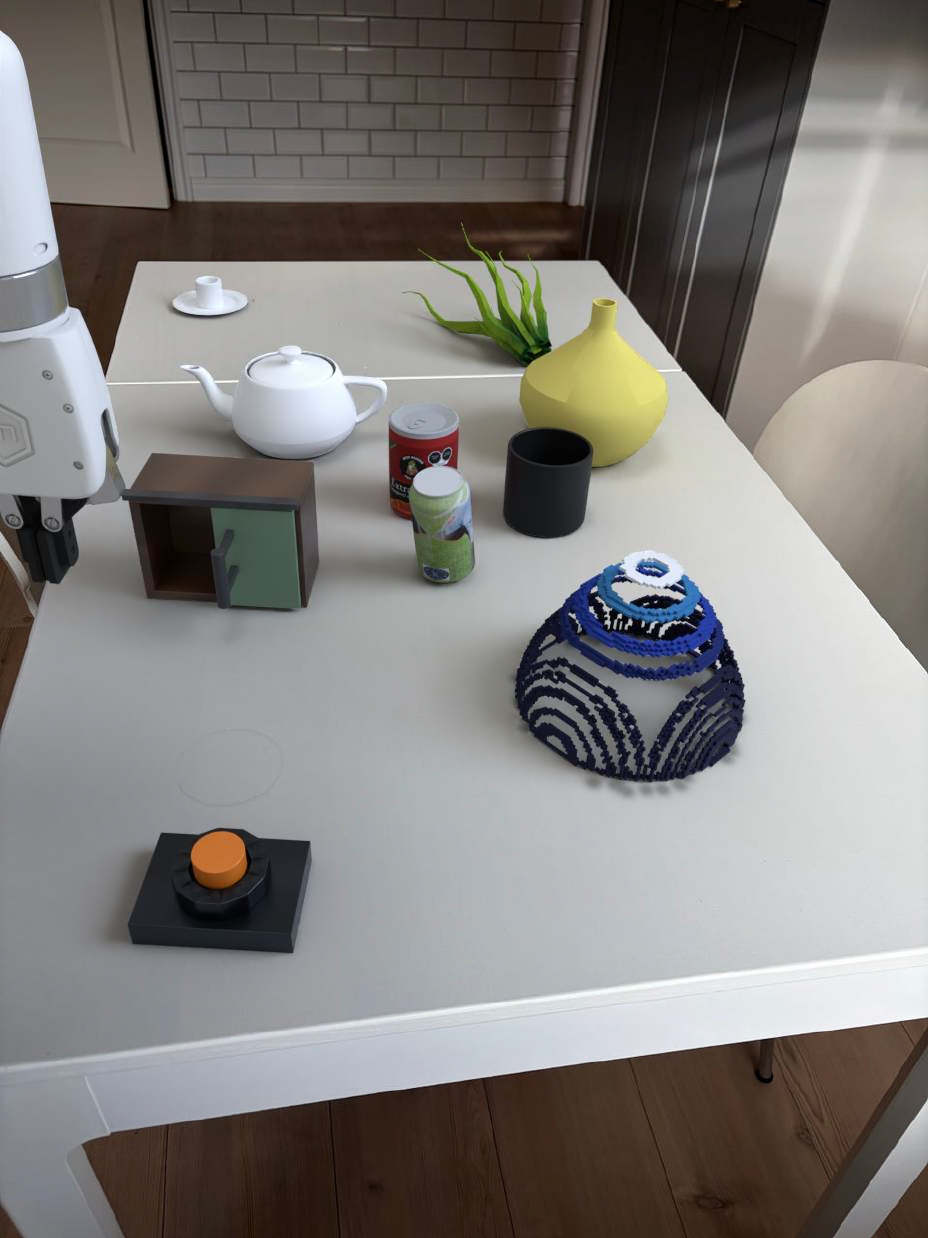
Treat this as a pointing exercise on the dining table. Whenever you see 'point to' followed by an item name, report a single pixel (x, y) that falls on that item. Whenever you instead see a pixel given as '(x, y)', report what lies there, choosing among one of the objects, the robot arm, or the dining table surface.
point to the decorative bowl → (637, 669)
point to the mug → (547, 481)
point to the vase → (596, 390)
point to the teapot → (291, 403)
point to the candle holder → (209, 298)
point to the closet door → (255, 557)
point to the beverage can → (442, 524)
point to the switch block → (223, 897)
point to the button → (219, 860)
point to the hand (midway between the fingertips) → (54, 570)
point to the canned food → (419, 447)
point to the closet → (182, 523)
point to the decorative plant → (505, 315)
